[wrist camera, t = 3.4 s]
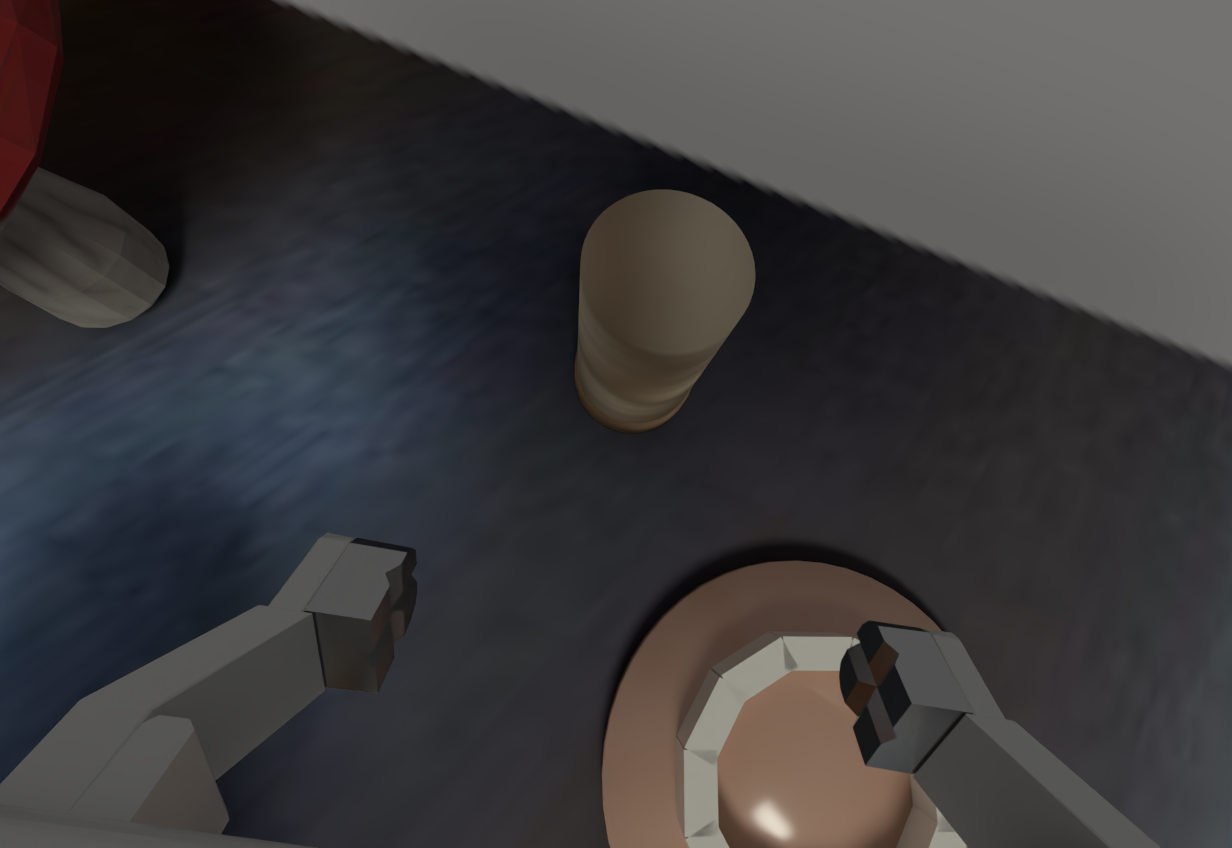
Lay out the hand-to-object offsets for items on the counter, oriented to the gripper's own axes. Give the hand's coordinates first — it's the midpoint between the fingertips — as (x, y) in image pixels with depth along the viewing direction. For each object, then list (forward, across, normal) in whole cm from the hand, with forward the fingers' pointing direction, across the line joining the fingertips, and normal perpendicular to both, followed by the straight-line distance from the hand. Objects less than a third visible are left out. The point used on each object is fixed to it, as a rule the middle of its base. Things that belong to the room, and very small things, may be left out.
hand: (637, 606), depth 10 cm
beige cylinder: (+16, 0, +3) cm, 16 cm away
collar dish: (+5, -9, +14) cm, 17 cm away
